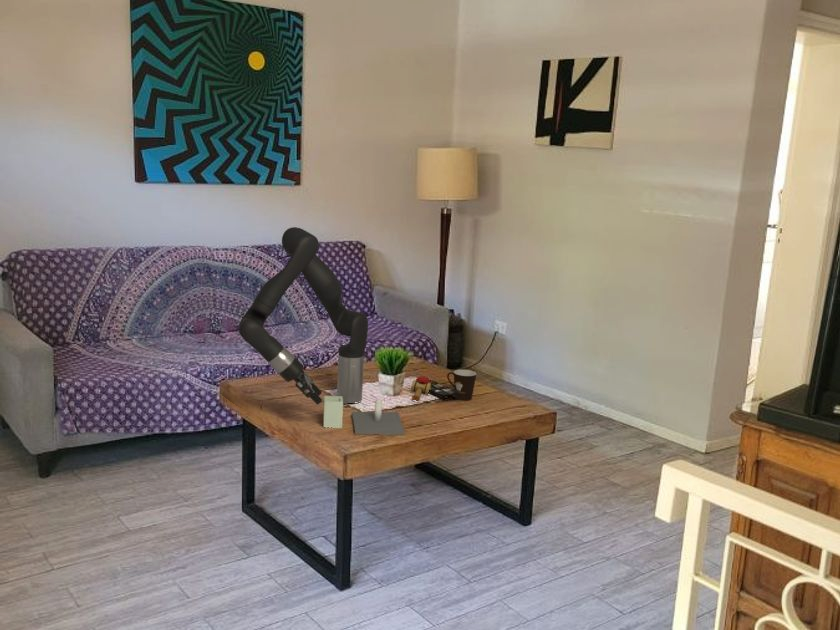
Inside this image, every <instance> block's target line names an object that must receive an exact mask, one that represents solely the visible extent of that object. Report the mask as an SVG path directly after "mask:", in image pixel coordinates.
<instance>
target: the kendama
mask: <svg viewBox="0 0 840 630" xmlns="http://www.w3.org/2000/svg"><path fill="white" fill-rule="evenodd" d="M431 387H432V383H431V380H430V379H429V377H427V376H425V375H421V376H418V377H417V378H416V379H414V380H413V381H412V385H411V388H410V390H411V392H414V393H413V395H412V396H411V401H412V400H416V401H419V402H420V401H421V396H422V393H423V394H424V395H425V394H426V395H425V396H429V395H428V392H429V390H430V391H431ZM429 393H430V392H429Z"/></svg>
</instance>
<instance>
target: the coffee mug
mask: <svg viewBox="0 0 840 630" xmlns="http://www.w3.org/2000/svg"><path fill="white" fill-rule="evenodd" d="M450 375H452V376H453V382H452V381H451V379H450ZM446 378H447V380H448V382H449V383H450V385H451V386H452V387H453V388H454V399H455V398H456V400H458V401H461V402H464V401H465V402H468V401H471V400H472V398H473V392H474V390H475V384H476V378H477V372H476V371H474V370H470V369H455V370H454V371H452V372H451V371H450V372H447V375H446Z"/></svg>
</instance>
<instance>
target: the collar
mask: <svg viewBox="0 0 840 630" xmlns="http://www.w3.org/2000/svg"><path fill="white" fill-rule="evenodd" d="M343 411H344V403H343V398H342V396H337V395H335V396H334V395H324V396H323V419H322V420H323V421H322V422H323V424H322V425H323V428H324V427H326V428H325V429H343ZM327 427H329V428H327ZM331 427H332V428H331Z"/></svg>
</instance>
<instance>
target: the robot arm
mask: <svg viewBox="0 0 840 630" xmlns="http://www.w3.org/2000/svg"><path fill="white" fill-rule="evenodd" d="M319 242H320V241H319V239H318V237H317V236H315V235H313V234H312V233H311V232H308V231H307V230H305V229H303V228H301V227H295V226H294V227H292V226H291V227H289V228H287V229H286V230H285V231H283V234H282V237H281V246H282V248H283V250H284V251H285V253H286V254H287V255H288V256H289V257H290V258H289V260H288V262H287V264H286V265H285V266H284V267H283V268H282V269H281V270H280V271H279V272H277V273H276V274H275V275H273V276H272V277H270V278H269V279H268V280H267V281H266V282H264V285H262V287H261V288H260V290H259V291H258V293H257V295H256V297H255V298H254V300H253V302H252V304H251V305H250V307H249V308H248V309H247V311H246V312H245V314H244V315H243V316H242V318H241V320H240V321H239V324H238V328H237V329H238V333H239V335H240V336H241V338H242V339H243V340H244V341H245V342H246V343H247V344H248V345H250V346H251V347H252V348H253V349H254V350H256V352H258V354H260V356H261V357H262V358H263V359H264V360H265V361H266V362H268V365H270V366H271V368H272V369H273V370H274V371H275V372H276V373H277V374H278V375H280V377H281V378H282V379H284V381H285V382H287V383H289V382H291V381H292V380H293V381H294V382H295V387H296V388H297V389H298V390H299V391H300V392H301V393H302V394H303V395H304V396H305V397H306V398H307V399H308V398H310V399H311V400H312V401H313V402H314V403H315V404H316V405H320V404H321V403H322V402H323V399H322V398H321V397H320V396H321V394H322V390H321V389H320V388H319V387H318V386H317V385H316V384H315V382H314V380H313V378H312V377H311V376H309V375H308V373H306V371H304V365H303V364H302V363H301V361H300V360H299V359H298V358H297V357H295V355H294V354H293V353H292V352H290V350H289V349H287V348H286V347H284V346H283V345H282V343H281V342H279V341H278V340H277V338H275V337H274V336H272V335H271V334H270V333H269V331H267V330H266V329H265V327H263V325H264V324H265V323H266V321H267V320H268V317H269V316H270V315H272V314H273V313H274V312H275V311H274V310H275V309H276V308H277V306H278V305H279V302H280V301H281V299H282V298H283V296H284V295H285V293H286V292H287V291H288V289H289V288H290V286H292V284H293V283H294V281H295V280H296V279H297V278H298V277H299V276H300V274H302V275H303V277H304V278H305V280H306V282H307V283H308V285H309V287H310V289H311V290H312V292H313V293H314V295H315V296H316V297H317V299H318V300H319V302H320V303H321V305H322V306H323V308H324V309H325V312H326V313H327V314H328V316H329V318H330V321H331V323H332V324H333V327H334V329H335V330H336V331H337V333H338V334H340V335H342V336H345V337H349V342H348V343H346V344H342V345H340V346H339V348H338V356H337V357H338V359H337V360H338V361H337V386H336V387H337V388H336V396H342V398H343V404H345V405H346V404H347V403H355V402H359V401H361V400H362V401H363V387H364V385H363V382H364V364H365V361H364V360H365V350H366V347H367V342H368V341H367V339H368V333H369V331H368V329H369V319H368V316H367V315H366V314H365V313H363V312H359V311H354V310H350V309H348V308H347V307H345V305H344V304H343V303H344V302H343V301H342V296H343V287H342V284H341V281H339V279H338V277H337V276H336V274H335V273H334V271H333V270H332V269H331V268H330V267H329V266H328V265H327V264H326V263H325V262H324V261H323V260H322V259H321V258H320V257H319V256H318V255H317V253H318V251H319V247H320V243H319ZM362 401H361V402H362ZM347 405H348V404H347Z"/></svg>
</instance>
